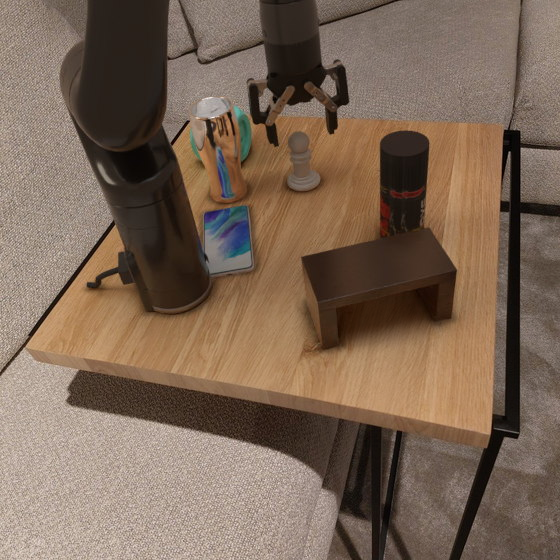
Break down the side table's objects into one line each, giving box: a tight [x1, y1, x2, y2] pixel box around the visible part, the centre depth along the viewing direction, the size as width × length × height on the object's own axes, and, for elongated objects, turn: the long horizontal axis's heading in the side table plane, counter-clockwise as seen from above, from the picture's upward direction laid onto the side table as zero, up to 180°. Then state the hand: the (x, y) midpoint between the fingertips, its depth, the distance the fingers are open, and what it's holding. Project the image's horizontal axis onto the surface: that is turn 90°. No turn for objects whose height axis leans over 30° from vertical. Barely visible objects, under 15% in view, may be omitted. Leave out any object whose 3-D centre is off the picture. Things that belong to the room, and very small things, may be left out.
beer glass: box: [188, 95, 248, 204], centre depth 90 cm, size 7×7×15 cm
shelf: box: [300, 226, 458, 350], centre depth 70 cm, size 16×8×8 cm, turn 102°
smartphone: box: [202, 204, 255, 279], centre depth 86 cm, size 7×1×15 cm
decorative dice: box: [189, 104, 252, 163], centre depth 100 cm, size 8×8×8 cm
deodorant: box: [379, 130, 430, 239], centre depth 77 cm, size 6×6×15 cm
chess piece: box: [286, 130, 321, 192], centre depth 91 cm, size 5×5×9 cm
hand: (303, 138), depth 88 cm, fingers open, 8 cm apart
